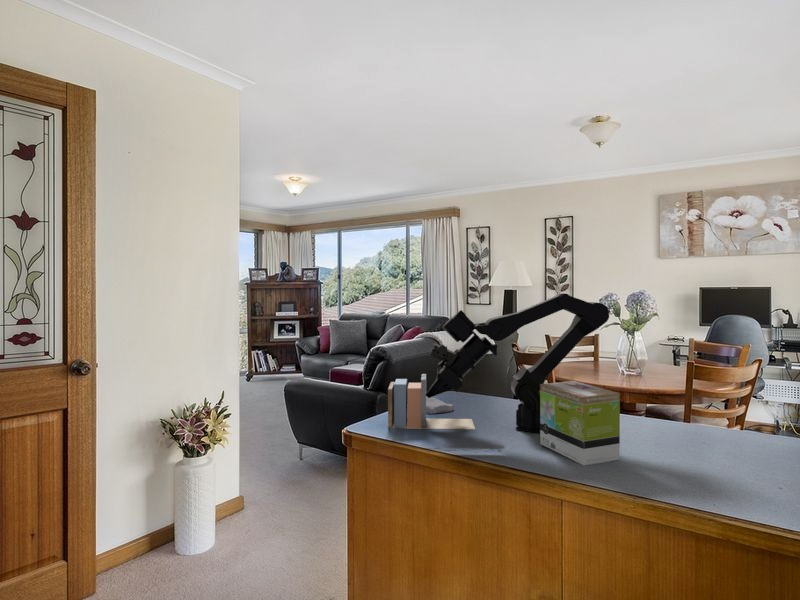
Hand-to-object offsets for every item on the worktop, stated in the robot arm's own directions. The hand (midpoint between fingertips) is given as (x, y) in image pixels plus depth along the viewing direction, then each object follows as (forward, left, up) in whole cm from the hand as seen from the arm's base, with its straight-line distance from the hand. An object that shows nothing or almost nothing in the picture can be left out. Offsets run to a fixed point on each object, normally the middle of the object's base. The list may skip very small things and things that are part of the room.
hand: (427, 396), depth 132 cm
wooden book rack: (-1, -1, -8) cm, 8 cm away
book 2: (+3, +2, -7) cm, 8 cm away
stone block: (+7, -16, -9) cm, 20 cm away
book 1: (+6, +3, -7) cm, 10 cm away
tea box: (-38, -1, -9) cm, 39 cm away
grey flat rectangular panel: (+1, 0, -7) cm, 7 cm away
